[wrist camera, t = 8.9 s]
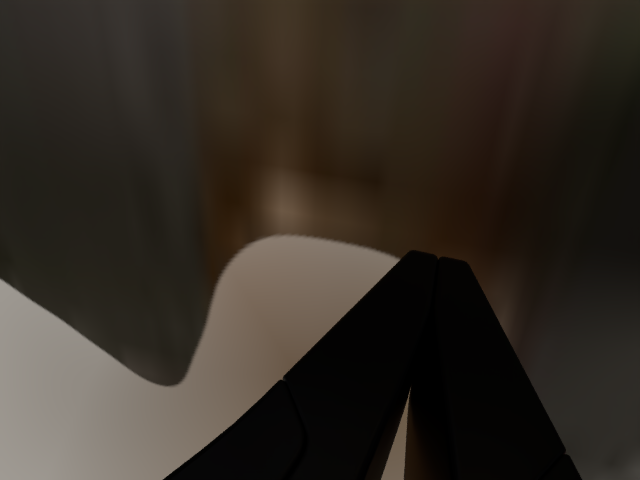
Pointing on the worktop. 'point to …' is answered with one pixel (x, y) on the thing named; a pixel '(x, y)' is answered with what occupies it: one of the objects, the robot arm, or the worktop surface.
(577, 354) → the worktop surface
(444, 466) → the robot arm
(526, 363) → the worktop surface
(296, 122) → the worktop surface
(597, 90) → the worktop surface
